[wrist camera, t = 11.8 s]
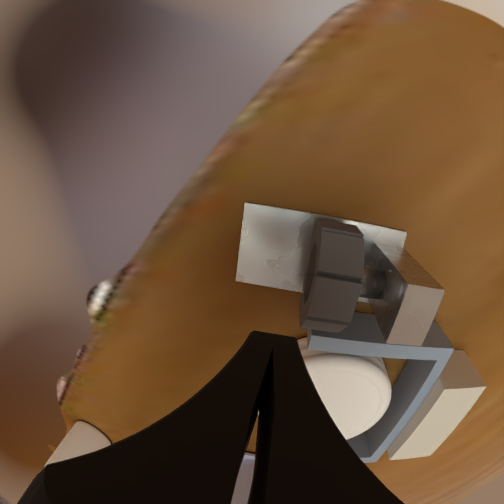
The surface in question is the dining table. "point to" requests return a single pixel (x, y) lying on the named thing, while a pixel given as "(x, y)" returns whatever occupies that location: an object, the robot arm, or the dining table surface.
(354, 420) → the cream round disc
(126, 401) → the dining table surface
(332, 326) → the wheel
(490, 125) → the dining table surface
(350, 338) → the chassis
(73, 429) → the can
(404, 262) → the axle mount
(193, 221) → the dining table surface
